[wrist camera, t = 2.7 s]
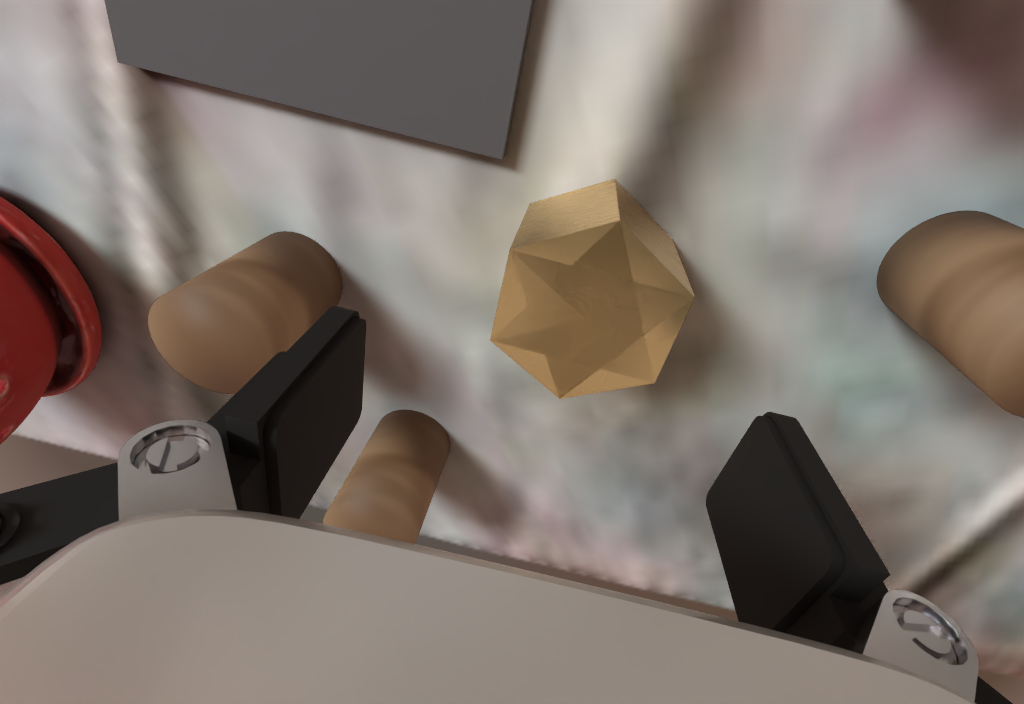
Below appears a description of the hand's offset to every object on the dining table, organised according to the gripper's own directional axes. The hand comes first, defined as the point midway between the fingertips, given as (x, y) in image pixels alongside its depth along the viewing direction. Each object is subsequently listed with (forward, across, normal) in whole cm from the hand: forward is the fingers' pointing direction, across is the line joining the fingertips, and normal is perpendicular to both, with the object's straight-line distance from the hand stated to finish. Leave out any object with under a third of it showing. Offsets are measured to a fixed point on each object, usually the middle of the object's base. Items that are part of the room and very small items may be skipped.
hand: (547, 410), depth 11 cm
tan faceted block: (+9, -1, -1) cm, 9 cm away
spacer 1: (+10, +11, +3) cm, 15 cm away
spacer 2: (+10, +5, +11) cm, 16 cm away
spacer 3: (+9, -13, -4) cm, 16 cm away
